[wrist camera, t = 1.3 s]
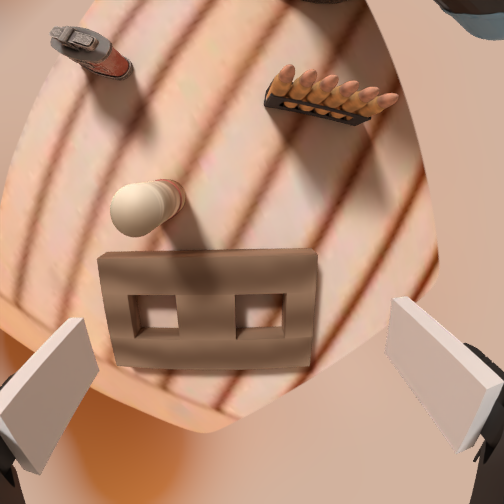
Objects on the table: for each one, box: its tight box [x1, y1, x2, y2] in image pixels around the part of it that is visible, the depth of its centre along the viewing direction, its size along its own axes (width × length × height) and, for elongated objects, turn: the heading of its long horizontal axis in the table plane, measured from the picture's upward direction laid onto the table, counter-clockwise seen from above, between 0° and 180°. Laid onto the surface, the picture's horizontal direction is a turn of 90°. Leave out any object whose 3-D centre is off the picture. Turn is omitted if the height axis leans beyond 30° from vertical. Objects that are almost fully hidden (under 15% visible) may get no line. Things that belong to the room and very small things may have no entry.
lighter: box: [49, 26, 133, 80], centre depth 24 cm, size 8×3×10 cm, turn 61°
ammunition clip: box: [264, 64, 399, 126], centre depth 26 cm, size 11×2×12 cm, turn 81°
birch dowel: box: [110, 179, 185, 237], centre depth 28 cm, size 4×4×12 cm
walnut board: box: [97, 248, 318, 370], centre depth 36 cm, size 14×24×3 cm, turn 90°
